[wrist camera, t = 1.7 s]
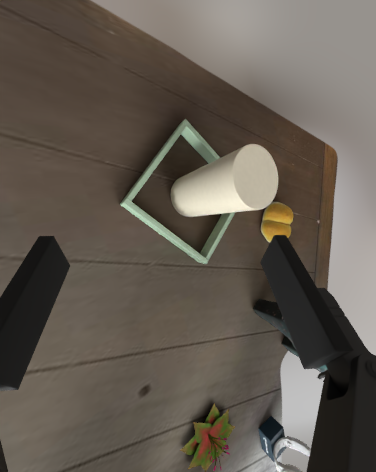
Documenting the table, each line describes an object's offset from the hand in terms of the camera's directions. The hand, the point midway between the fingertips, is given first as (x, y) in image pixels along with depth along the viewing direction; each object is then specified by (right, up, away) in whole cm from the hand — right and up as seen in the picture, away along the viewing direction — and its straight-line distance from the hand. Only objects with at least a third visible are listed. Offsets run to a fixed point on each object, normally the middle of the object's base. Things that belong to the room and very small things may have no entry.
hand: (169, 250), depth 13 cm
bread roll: (+20, +4, +33) cm, 39 cm away
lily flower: (+5, -37, +26) cm, 45 cm away
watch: (+19, -44, +34) cm, 59 cm away
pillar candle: (+1, +8, +22) cm, 24 cm away
